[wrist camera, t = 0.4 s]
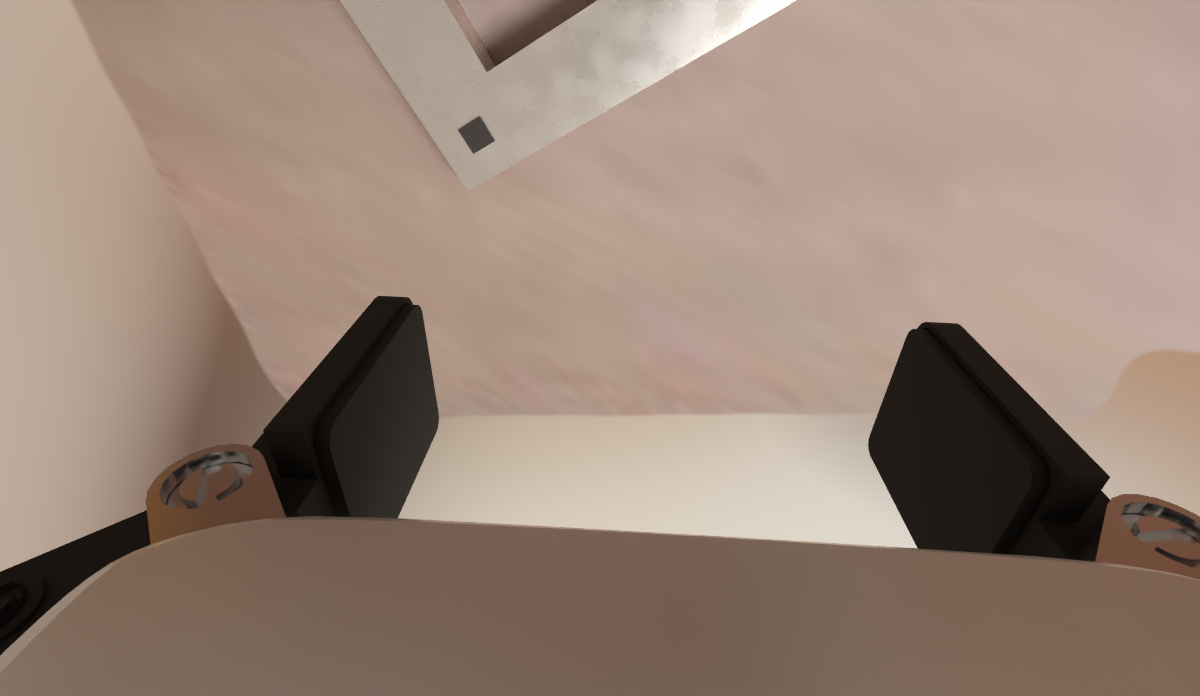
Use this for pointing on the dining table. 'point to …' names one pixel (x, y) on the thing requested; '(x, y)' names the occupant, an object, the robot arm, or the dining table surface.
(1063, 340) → the dining table surface
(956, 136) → the dining table surface
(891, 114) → the dining table surface
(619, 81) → the plate
